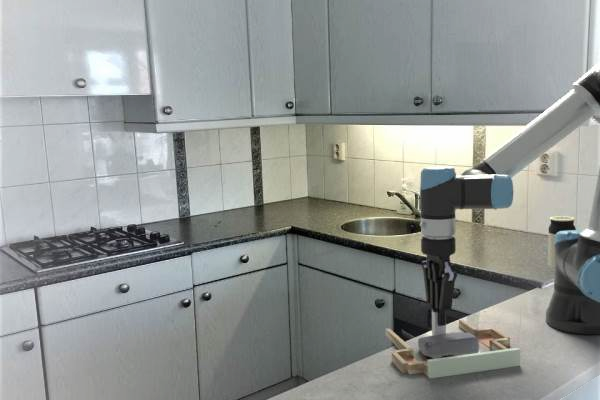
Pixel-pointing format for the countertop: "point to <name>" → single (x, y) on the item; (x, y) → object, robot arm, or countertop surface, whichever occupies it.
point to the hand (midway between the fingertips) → (438, 337)
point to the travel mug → (556, 225)
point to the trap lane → (461, 363)
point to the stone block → (448, 344)
